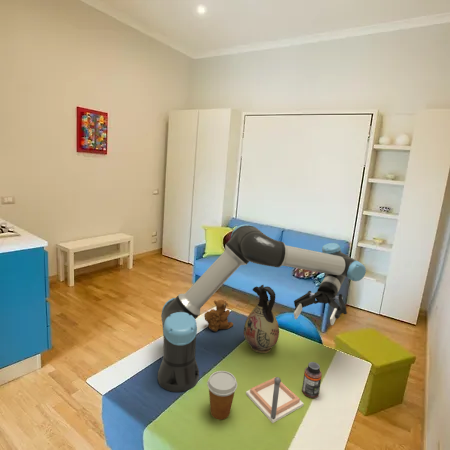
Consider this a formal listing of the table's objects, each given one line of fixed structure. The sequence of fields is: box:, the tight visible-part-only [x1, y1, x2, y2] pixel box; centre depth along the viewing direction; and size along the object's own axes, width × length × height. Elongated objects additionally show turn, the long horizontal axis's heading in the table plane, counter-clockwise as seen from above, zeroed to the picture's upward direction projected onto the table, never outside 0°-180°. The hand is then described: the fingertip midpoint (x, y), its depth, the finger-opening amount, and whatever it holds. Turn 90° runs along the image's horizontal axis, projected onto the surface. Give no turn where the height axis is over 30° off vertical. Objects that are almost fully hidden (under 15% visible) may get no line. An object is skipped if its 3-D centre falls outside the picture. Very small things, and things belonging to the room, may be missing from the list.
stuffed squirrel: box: [203, 299, 234, 332], centre depth 148 cm, size 10×14×13 cm
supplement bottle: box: [301, 361, 323, 399], centre depth 110 cm, size 6×6×11 cm
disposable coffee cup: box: [207, 370, 238, 421], centre depth 99 cm, size 10×10×12 cm
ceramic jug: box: [243, 284, 280, 354], centre depth 132 cm, size 17×15×30 cm
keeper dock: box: [245, 376, 305, 424], centre depth 105 cm, size 14×14×16 cm
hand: (312, 319), depth 113 cm, fingers open, 13 cm apart
